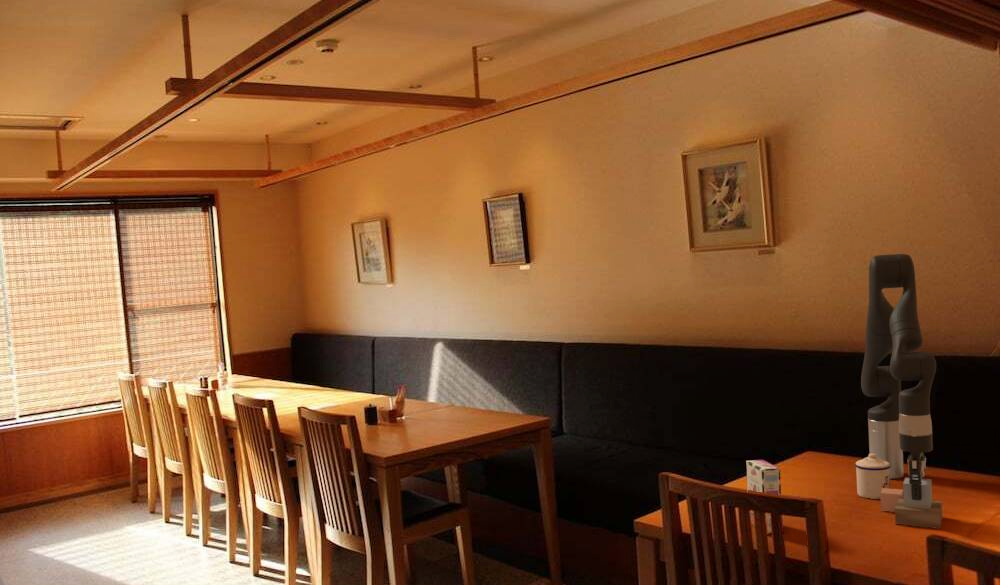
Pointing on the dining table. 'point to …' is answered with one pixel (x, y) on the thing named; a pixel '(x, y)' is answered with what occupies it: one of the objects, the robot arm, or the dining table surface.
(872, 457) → the teacup with lid
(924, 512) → the walnut plinth
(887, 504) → the terracotta block
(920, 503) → the slate block
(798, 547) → the dining table surface
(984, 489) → the dining table surface
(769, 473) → the candy bar box
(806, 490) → the dining table surface
